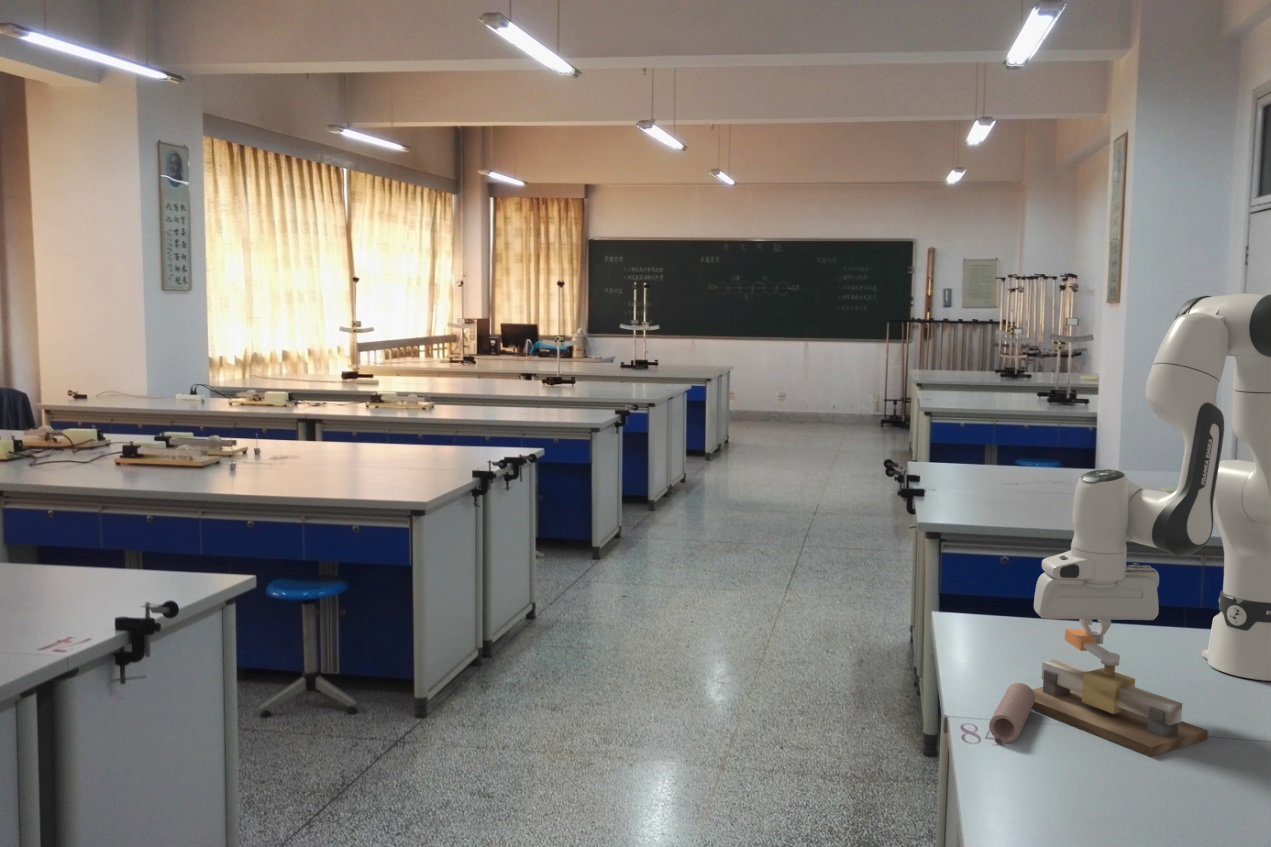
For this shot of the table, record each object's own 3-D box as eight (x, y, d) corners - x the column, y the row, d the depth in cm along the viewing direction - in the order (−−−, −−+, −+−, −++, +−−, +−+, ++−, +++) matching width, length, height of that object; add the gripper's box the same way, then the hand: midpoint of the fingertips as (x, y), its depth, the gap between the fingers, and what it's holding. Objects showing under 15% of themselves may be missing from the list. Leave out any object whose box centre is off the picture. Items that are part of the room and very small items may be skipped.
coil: (1021, 720, 170) (1038, 685, 186) (990, 711, 172) (1009, 677, 188) (1016, 748, 170) (1033, 711, 186) (985, 739, 172) (1005, 703, 188)
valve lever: (1064, 640, 194) (1064, 628, 194) (1079, 639, 194) (1080, 628, 194) (1105, 667, 179) (1106, 655, 179) (1122, 667, 179) (1123, 655, 179)
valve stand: (1068, 688, 196) (1071, 637, 195) (1207, 739, 174) (1211, 682, 173) (1013, 702, 189) (1016, 649, 188) (1150, 756, 167) (1154, 696, 166)
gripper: (1151, 561, 192) (1147, 638, 194) (1032, 559, 193) (1029, 636, 195) (1167, 570, 186) (1163, 649, 188) (1044, 568, 187) (1040, 648, 188)
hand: (1093, 643), depth 191 cm, fingers closed
